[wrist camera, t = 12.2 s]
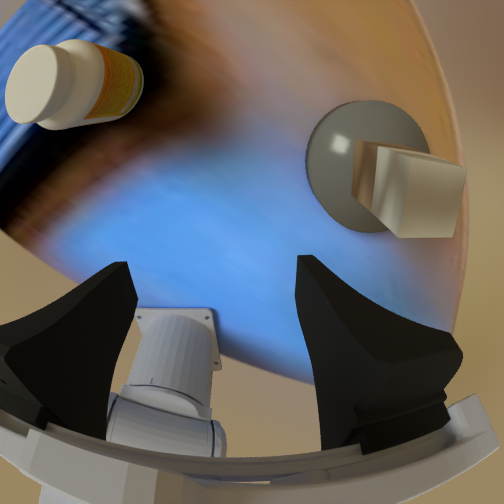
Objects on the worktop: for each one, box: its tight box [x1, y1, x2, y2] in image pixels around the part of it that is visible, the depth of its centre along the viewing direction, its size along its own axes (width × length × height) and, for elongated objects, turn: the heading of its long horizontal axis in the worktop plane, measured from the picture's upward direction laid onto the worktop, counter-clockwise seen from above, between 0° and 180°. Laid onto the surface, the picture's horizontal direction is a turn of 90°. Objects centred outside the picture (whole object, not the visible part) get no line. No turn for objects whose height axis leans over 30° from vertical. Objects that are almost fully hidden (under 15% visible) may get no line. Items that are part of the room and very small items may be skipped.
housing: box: [351, 139, 467, 238], centre depth 14 cm, size 4×4×7 cm
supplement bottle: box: [5, 39, 144, 130], centre depth 11 cm, size 5×5×10 cm
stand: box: [305, 100, 430, 233], centre depth 18 cm, size 10×10×2 cm
